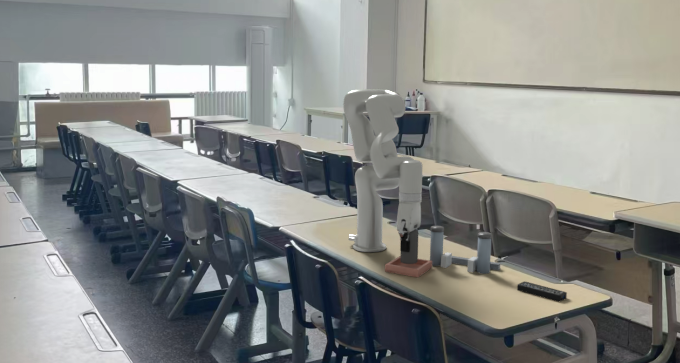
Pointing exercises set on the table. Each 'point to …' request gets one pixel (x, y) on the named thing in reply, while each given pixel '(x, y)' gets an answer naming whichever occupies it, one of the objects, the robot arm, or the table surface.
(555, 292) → the multiport hub
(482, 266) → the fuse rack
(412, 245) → the bottle
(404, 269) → the tray
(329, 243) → the table surface
